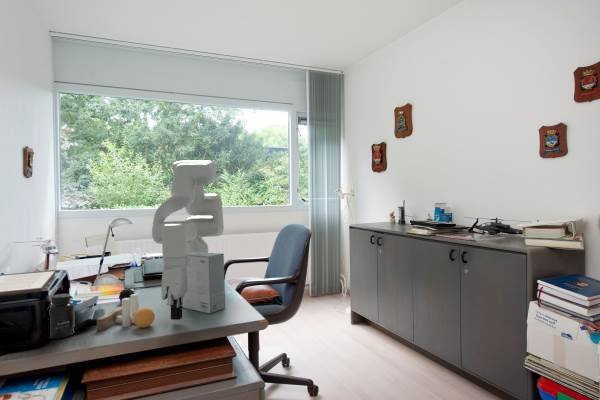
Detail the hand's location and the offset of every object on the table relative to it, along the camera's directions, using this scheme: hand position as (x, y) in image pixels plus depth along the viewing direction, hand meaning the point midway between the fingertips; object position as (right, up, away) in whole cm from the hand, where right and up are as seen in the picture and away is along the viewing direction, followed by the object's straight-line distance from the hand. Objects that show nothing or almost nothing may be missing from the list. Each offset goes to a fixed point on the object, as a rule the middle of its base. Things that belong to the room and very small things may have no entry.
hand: (176, 318), depth 120 cm
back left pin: (-16, -2, -1) cm, 16 cm away
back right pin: (-15, -2, +4) cm, 16 cm away
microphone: (-30, -2, +32) cm, 44 cm away
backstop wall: (-21, -2, +2) cm, 22 cm away
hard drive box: (+5, -1, +16) cm, 16 cm away
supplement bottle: (-32, -3, -8) cm, 33 cm away
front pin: (-12, -1, +1) cm, 12 cm away
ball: (-9, +1, -3) cm, 10 cm away
